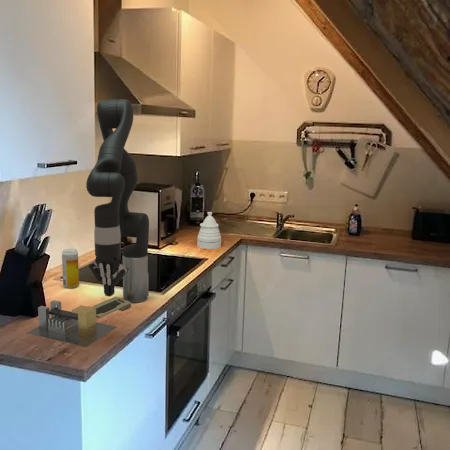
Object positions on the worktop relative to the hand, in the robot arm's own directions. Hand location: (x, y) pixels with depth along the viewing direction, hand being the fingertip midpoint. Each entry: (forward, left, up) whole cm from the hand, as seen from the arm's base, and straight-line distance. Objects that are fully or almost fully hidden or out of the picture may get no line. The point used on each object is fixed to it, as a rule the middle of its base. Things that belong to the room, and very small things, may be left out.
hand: (109, 295), depth 151 cm
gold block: (0, -9, -14) cm, 17 cm away
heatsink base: (0, -14, -15) cm, 20 cm away
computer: (-20, -15, -16) cm, 29 cm away
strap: (0, -16, -9) cm, 19 cm away
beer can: (-35, -43, -15) cm, 57 cm away
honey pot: (-120, -20, -15) cm, 122 cm away
